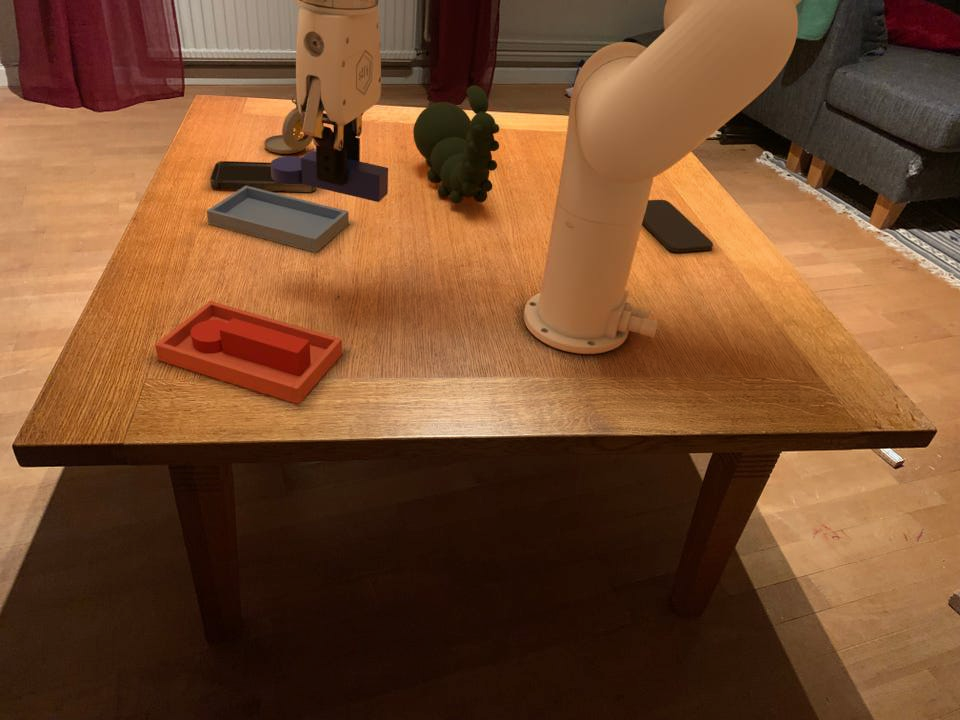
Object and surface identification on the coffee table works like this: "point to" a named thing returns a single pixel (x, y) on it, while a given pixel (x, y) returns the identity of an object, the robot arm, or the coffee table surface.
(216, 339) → the red spoon
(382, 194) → the blue spoon
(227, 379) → the red tray
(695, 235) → the phone
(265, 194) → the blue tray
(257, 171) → the phone
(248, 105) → the coffee table surface
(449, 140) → the toy figurine
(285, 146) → the pocket watch
